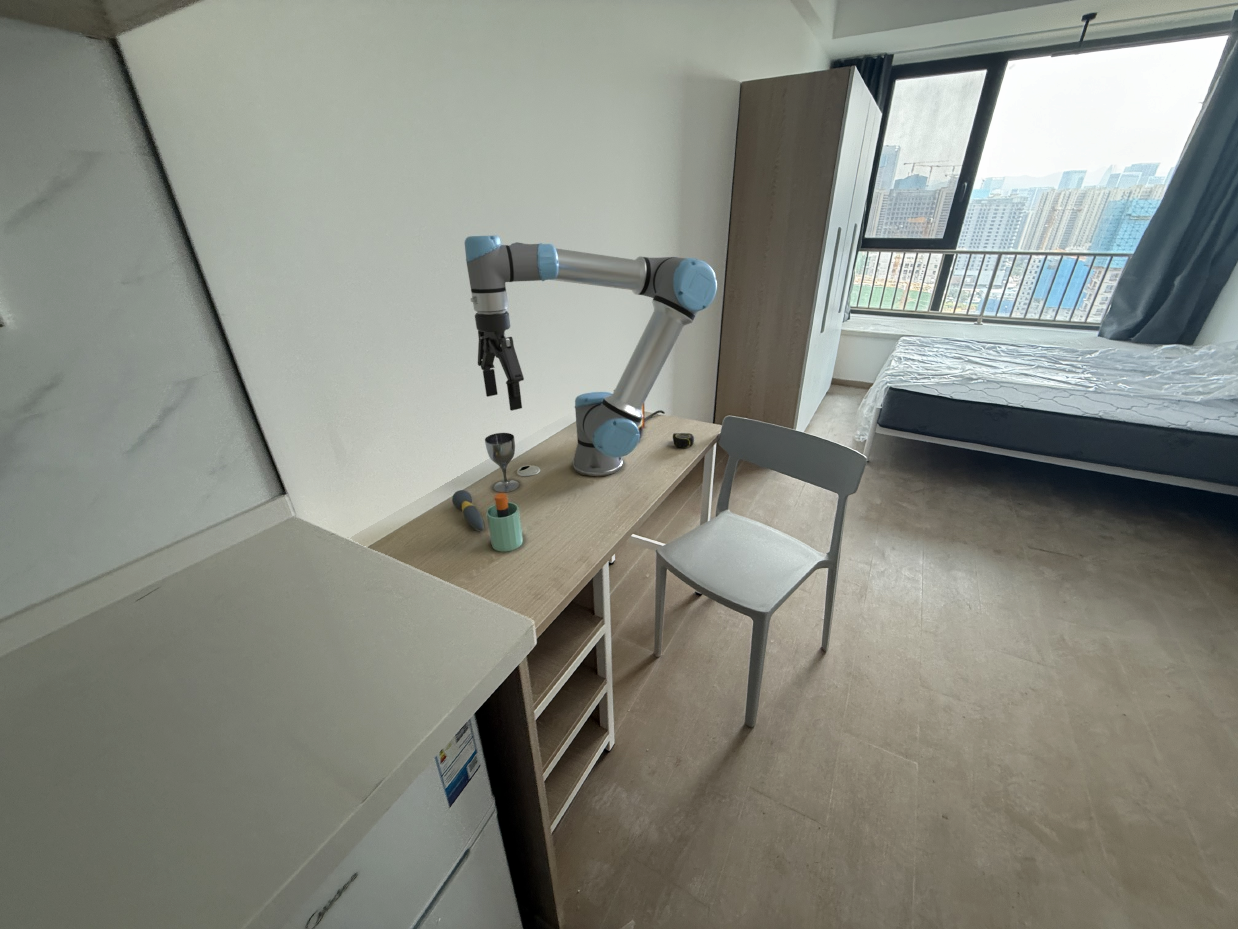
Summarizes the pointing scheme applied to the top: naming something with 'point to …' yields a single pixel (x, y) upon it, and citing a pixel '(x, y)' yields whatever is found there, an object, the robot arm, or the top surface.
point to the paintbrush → (468, 509)
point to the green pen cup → (505, 528)
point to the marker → (501, 505)
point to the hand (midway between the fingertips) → (503, 402)
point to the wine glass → (502, 457)
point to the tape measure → (683, 439)
